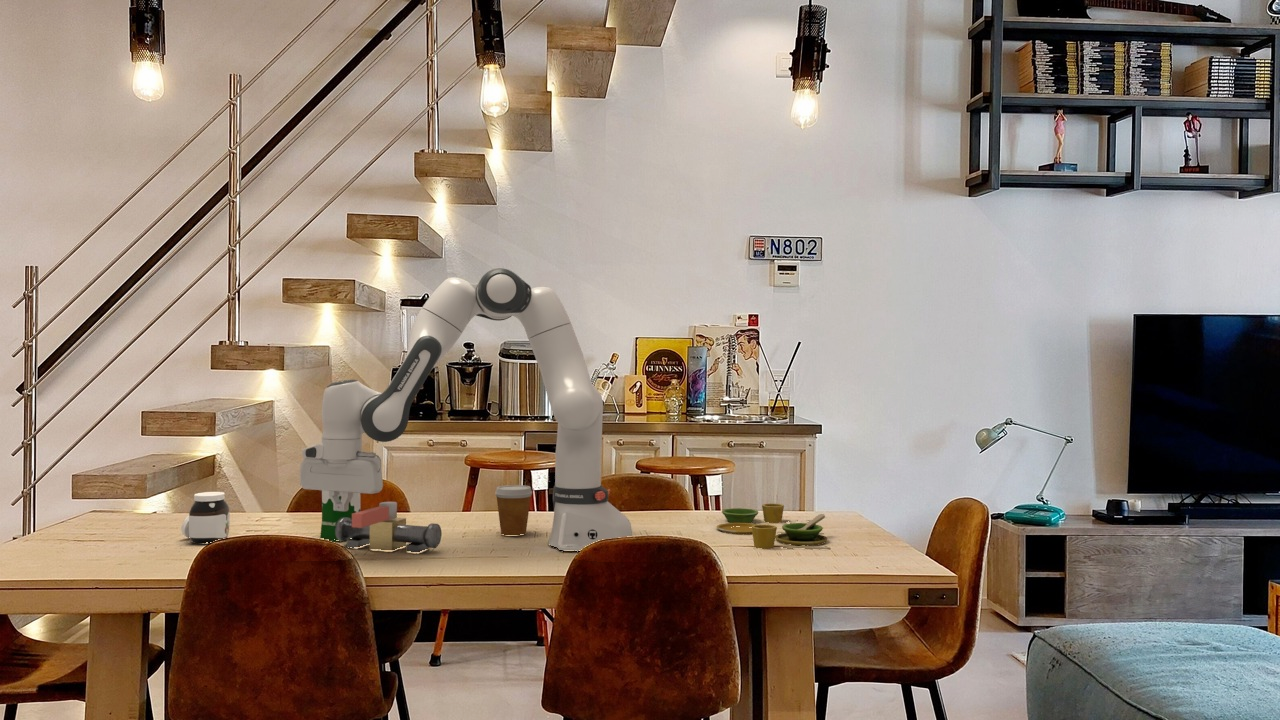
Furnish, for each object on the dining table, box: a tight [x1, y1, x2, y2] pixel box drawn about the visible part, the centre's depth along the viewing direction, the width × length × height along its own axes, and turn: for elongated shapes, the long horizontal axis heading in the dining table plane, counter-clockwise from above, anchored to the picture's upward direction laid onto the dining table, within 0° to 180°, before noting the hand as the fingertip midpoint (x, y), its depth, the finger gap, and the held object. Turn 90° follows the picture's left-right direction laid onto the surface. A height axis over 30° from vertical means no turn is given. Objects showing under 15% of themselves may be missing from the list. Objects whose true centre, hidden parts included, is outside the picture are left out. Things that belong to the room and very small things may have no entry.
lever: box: [352, 501, 398, 528], centre depth 219 cm, size 14×4×4 cm, turn 162°
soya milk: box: [319, 490, 361, 543], centre depth 237 cm, size 9×9×20 cm
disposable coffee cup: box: [494, 484, 533, 535], centre depth 243 cm, size 10×10×12 cm
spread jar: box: [180, 491, 231, 544], centre depth 234 cm, size 12×11×12 cm
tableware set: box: [716, 502, 832, 550], centre depth 247 cm, size 41×28×6 cm
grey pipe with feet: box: [335, 517, 442, 552], centre depth 225 cm, size 25×6×7 cm, turn 72°
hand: (340, 510), depth 219 cm, fingers closed
